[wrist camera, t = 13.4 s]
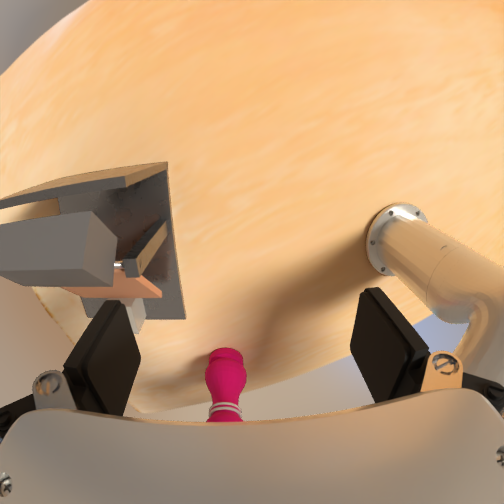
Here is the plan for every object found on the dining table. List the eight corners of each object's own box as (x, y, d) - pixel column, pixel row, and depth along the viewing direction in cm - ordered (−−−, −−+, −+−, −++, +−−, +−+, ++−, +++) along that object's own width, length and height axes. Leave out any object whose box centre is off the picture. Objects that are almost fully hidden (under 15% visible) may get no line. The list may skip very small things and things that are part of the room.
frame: (167, 161, 36) (124, 175, 22) (186, 316, 46) (170, 388, 31) (57, 178, 36) (-10, 203, 21) (89, 315, 45) (51, 373, 30)
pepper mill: (218, 339, 48) (213, 435, 29) (253, 354, 50) (261, 447, 31) (200, 363, 50) (190, 454, 32) (233, 377, 52) (235, 465, 33)
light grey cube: (130, 306, 38) (138, 333, 40) (140, 290, 43) (146, 315, 45) (102, 306, 38) (110, 332, 40) (113, 290, 42) (120, 315, 44)
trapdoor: (96, 210, 21) (87, 268, 19) (162, 278, 42) (161, 311, 40) (-3, 225, 20) (-12, 270, 19) (85, 279, 41) (83, 309, 39)
